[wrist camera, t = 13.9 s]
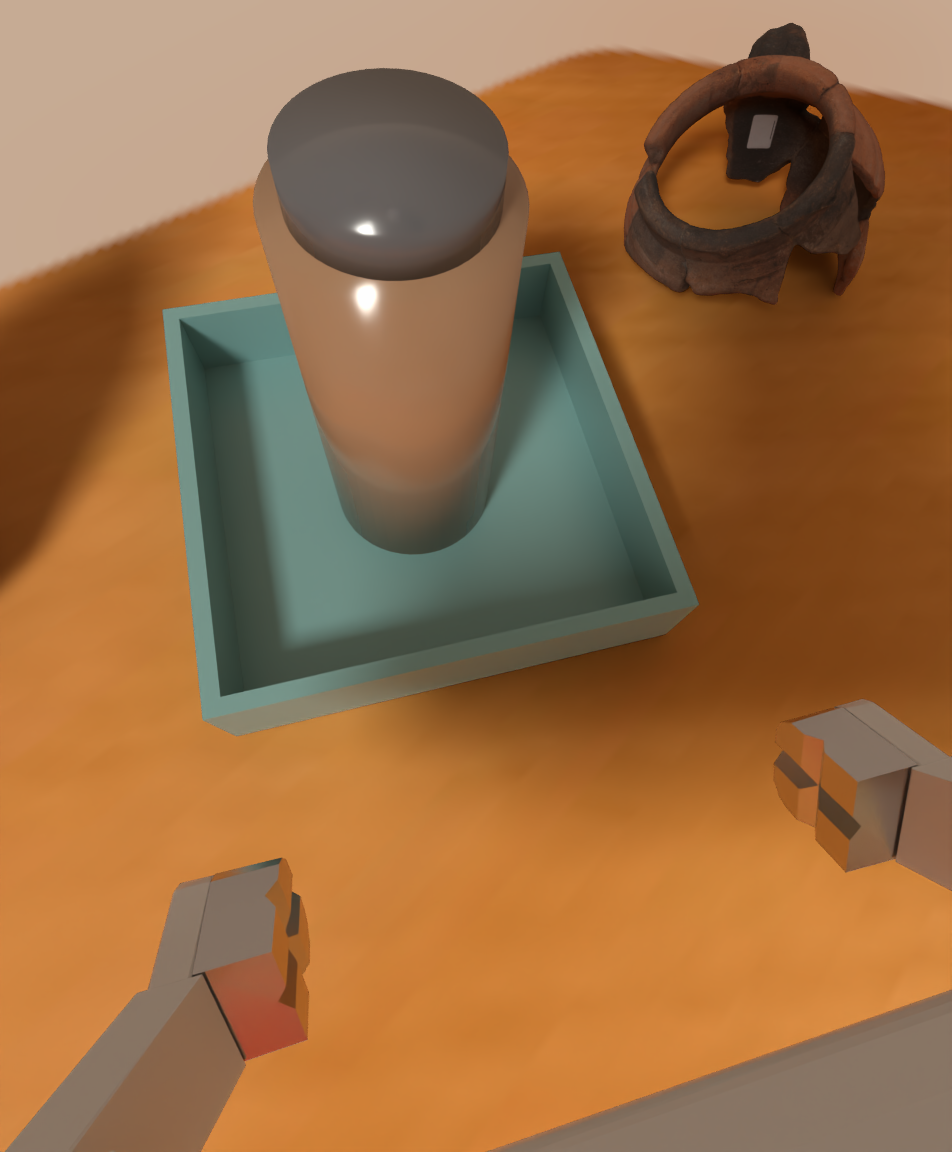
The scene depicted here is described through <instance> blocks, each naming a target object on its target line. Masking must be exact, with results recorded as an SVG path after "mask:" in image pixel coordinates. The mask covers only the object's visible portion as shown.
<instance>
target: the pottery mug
mask: <svg viewBox="0 0 952 1152" xmlns="http://www.w3.org/2000/svg"><path fill="white" fill-rule="evenodd" d="M723 105H724V107H723V108H724V113H725V115H726V122H725V123H726V129H727V131H728V134H729V139H728V149H727V154H726V157H727V160H728V165H727V171H726V174H727V176H728V177H729V178H731V179H746V180H750V181H753V182H761V181H762V180H764V179H765V178H766V177H767V176H768V175H770V174H772V173H775V172H776V171H778V170H780V169H781V168H782V167H784V166H785V165H787V164H788V163H790V162H791V167H790V171H789V174H788V177H787V182H786V185H787V190H786V192H785V195H784V197H783V200H782V202H781V205H780V212H779V213H777V214H775V215H773V216H771V217H768V218H765V219H763V220H761V221H759V222H756V223H752V224H749V225H745V226H741V227H737V228H732V229H722V230H711V229H705V228H699V227H695V226H692V225H689V224H688V223H686V222H684V221H682V220H681V219H679V218H677V217H676V216H674V215H673V214H672V213H671V212H670V211H669V210H668V209H667V208H666V206H665V205H664V203H663V201H662V199H661V197H660V195H659V190H658V184H657V178H656V175H657V172H658V170H659V168H660V166H661V164H662V163H663V161H664V159H665V157H666V155H667V154H668V152H669V150H670V149H671V147H672V146H673V145H674V144H675V142H676V141H677V140H678V138H679V137H680V136H681V135H682V134H683V133H684V132H685V131H686V130H687V129H688V128H689V127H691V126H692V125H693V124H694V123H696V122H697V121H698V120H700V119H701V118H702V117H704V116H705V115H707V114H708V113H710V112H711V111H713V110H715V109H717V108H719V107H721V106H723ZM809 105H811V106H813V107H816V108H817V109H818V110H819V111H820V112H821V114H822V115H823V116H822V119H819V117H818V116H815V115H813V114H811V113H809V112H808V111H807V110H806V108H807V107H808V106H809ZM644 147H645V151H646V153H647V155H648V158H647V160H646V162H645V164H644V166H643V168H642V170H641V172H640V176H639V179H638V181H637V182H636V184H635V186H634V189H633V191H632V194H631V196H630V198H629V201H628V204H627V209H626V214H625V222H624V246H625V248H626V251H627V252H628V253H629V255H630V256H631V257H632V259H633V260H634V261H635V262H636V263H637V264H638V265H639V266H640V267H641V268H642V269H644V271H645V272H646V273H648V274H649V275H650V276H652V277H653V278H654V279H655V280H657V281H659V282H661V283H663V284H664V285H666V286H667V287H669V288H670V289H671V290H673V291H676V292H683V291H685V290H686V289H688V288H689V286H690V287H691V289H692V291H693V292H694V293H695V294H697V295H717V294H732V293H743V294H747V295H752V296H755V297H757V298H758V299H759V300H761V301H763V302H766V303H770V304H773V305H775V304H776V303H777V301H778V292H779V290H780V287H781V283H782V280H783V278H784V273H785V269H786V265H787V263H788V259H789V256H790V254H791V252H792V249H793V247H794V246H795V245H800V246H801V247H803V248H804V249H805V250H807V251H808V252H810V253H812V254H819V253H837V254H838V274H837V279H836V283H835V286H834V290H833V292H834V294H836V295H842V294H843V293H844V291H845V289H846V287H847V286H848V285H849V284H850V282H851V281H852V279H853V278H854V277H855V275H856V273H857V271H858V270H859V267H860V265H861V263H862V261H863V258H864V254H865V246H866V241H867V234H868V228H869V217H870V215H871V211H872V210H873V209H874V208H875V207H876V202H877V201H878V200H879V199H880V197H881V196H882V194H883V192H884V185H885V171H884V165H883V160H882V154H881V149H880V146H879V143H878V140H877V138H876V135H875V133H874V132H873V130H872V128H871V127H870V125H869V124H868V122H867V121H866V120H865V118H864V117H863V115H862V114H861V113H860V111H859V110H858V109H857V108H856V107H855V106H854V105H853V103H852V100H851V98H850V96H849V94H848V92H847V90H846V88H845V87H844V86H843V85H842V84H839V81H838V78H837V77H836V75H835V74H834V73H833V72H831V71H830V70H828V69H826V68H824V67H823V66H822V65H820V64H819V63H816V62H814V61H811V60H810V49H809V44H808V42H807V38H806V33H805V31H804V30H803V28H802V27H801V26H798V25H796V24H794V23H789V24H787V25H785V26H782V27H779V28H775V29H770V30H768V31H767V32H766V33H765V34H764V35H763V36H761V37H760V38H759V39H758V40H757V41H756V42H755V43H754V45H753V46H752V49H751V52H750V54H749V57H748V59H744V60H741V61H738V62H737V63H734V64H729V65H727V66H725V67H723V68H721V69H719V70H716V71H715V72H713V73H712V74H709V75H708V76H706V77H705V78H703V79H701V80H699V81H698V82H696V83H695V84H693V85H692V86H691V87H689V88H688V89H687V90H685V91H684V92H683V93H682V94H681V95H680V96H679V97H678V98H677V99H676V100H675V101H674V102H672V103H671V104H670V105H669V106H668V108H667V109H666V110H665V111H664V112H663V113H662V114H661V115H660V116H659V118H658V119H657V121H656V123H655V124H654V126H653V127H652V129H651V130H650V132H649V134H648V136H647V138H646V141H645V143H644Z"/></svg>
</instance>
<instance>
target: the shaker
mask: <svg viewBox="0 0 952 1152" xmlns="http://www.w3.org/2000/svg"><path fill="white" fill-rule="evenodd" d="M267 152H268V160H267V161H266V162H265V164H264V166H263V167H262V169H261V171H260V173H259V175H258V178H257V181H256V185H255V188H254V196H253V209H254V217H255V220H256V224H257V228H258V231H259V234H260V238H261V241H262V244H263V248H264V251H265V254H266V258H267V261H268V264H269V268H270V271H271V275H272V278H273V281H274V285H275V288H276V291H277V295H278V298H279V301H280V305H281V308H282V311H283V315H284V318H285V321H286V325H287V328H288V331H289V335H290V338H291V341H292V345H293V348H294V351H295V355H296V358H297V361H298V365H299V368H300V371H301V375H302V378H303V381H304V385H305V388H306V391H307V395H308V398H309V401H310V405H311V408H312V411H313V415H314V418H315V421H316V425H317V428H318V431H319V435H320V438H321V441H322V445H323V448H324V451H325V455H326V458H327V461H328V465H329V468H330V471H331V475H332V478H333V481H334V485H335V488H336V491H337V495H338V498H339V501H340V505H341V508H342V511H343V513H344V515H345V517H346V519H347V520H348V522H349V524H350V525H351V526H352V527H353V529H354V530H355V531H356V532H357V533H358V534H359V535H360V536H362V537H363V538H364V539H365V540H367V541H368V542H370V543H371V544H373V545H375V546H377V547H379V548H381V549H384V550H387V551H390V552H395V553H399V554H409V555H414V554H426V553H432V552H435V551H439V550H442V549H444V548H447V547H449V546H451V545H453V544H455V543H456V542H458V541H459V540H461V539H462V538H463V537H465V536H466V535H467V534H468V533H469V532H470V531H471V530H472V529H473V528H474V527H475V525H476V524H477V523H478V521H479V519H480V518H481V516H482V514H483V512H484V509H485V507H486V503H487V498H488V492H489V485H490V478H491V472H492V465H493V458H494V451H495V444H496V437H497V430H498V424H499V417H500V410H501V403H502V396H503V389H504V382H505V375H506V369H507V362H508V355H509V348H510V341H511V334H512V327H513V321H514V314H515V307H516V300H517V293H518V286H519V279H520V273H521V266H522V259H523V252H524V245H525V238H526V231H527V225H528V218H529V198H528V191H527V188H526V184H525V181H524V179H523V177H522V174H521V172H520V170H519V168H518V167H517V165H516V164H515V163H514V161H513V160H512V158H511V157H510V156H509V155H508V154H509V151H508V142H507V138H506V135H505V131H504V129H503V127H502V125H501V123H500V121H499V120H498V118H497V117H496V116H495V114H494V113H493V111H492V110H491V109H490V108H489V107H488V106H487V105H486V104H485V103H484V102H483V101H481V100H480V99H479V98H478V97H477V96H475V95H474V94H472V93H471V92H469V91H468V90H466V89H465V88H463V87H461V86H459V85H457V84H455V83H453V82H450V81H448V80H445V79H443V78H440V77H437V76H434V75H430V74H427V73H422V72H417V71H412V70H404V69H387V68H386V69H385V68H379V69H365V70H359V71H352V72H347V73H343V74H339V75H336V76H333V77H330V78H327V79H324V80H322V81H320V82H318V83H316V84H313V85H312V86H310V87H308V88H306V89H305V90H303V91H302V92H300V93H299V94H298V95H296V96H295V97H294V98H292V99H291V100H290V101H289V102H288V103H287V104H286V105H285V106H284V107H283V109H282V110H281V111H280V113H279V114H278V115H277V117H276V119H275V120H274V122H273V124H272V127H271V129H270V133H269V136H268V145H267Z"/></svg>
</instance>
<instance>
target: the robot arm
mask: <svg viewBox="0 0 952 1152" xmlns="http://www.w3.org/2000/svg"><path fill="white" fill-rule="evenodd" d="M775 742H776V744H777V745H778V746H779V747H780V748H781V749H782V750H783V751H782V752H781V754H780V755H779V757H778V758H777V760H776V761H775V763H774V782H775V785H776V788H777V791H778V794H779V797H780V798H781V800H782V801H783V803H784V805H785V806H786V808H787V809H788V810H789V811H790V812H791V814H792V815H793V816H794V817H795V818H796V819H797V820H799V821H802V822H804V823H806V824H809V825H811V826H813V827H815V837H816V841H817V842H818V843H819V844H820V845H821V846H822V847H823V848H824V850H825V851H826V852H827V853H828V854H829V855H830V856H831V857H832V858H833V859H834V860H835V861H836V862H837V864H838V865H839V866H840V867H841V868H842V869H843V870H844V871H845V872H849V871H853V870H856V869H860V868H863V867H867V866H871V865H874V864H878V863H881V862H885V861H889V860H892V859H896V862H897V863H899V864H901V865H903V866H905V867H907V868H909V869H911V870H913V871H915V872H916V873H918V874H920V875H922V876H924V877H926V878H928V879H930V880H932V881H934V882H936V883H938V884H939V885H941V886H943V887H945V888H947V889H949V890H951V891H952V756H951V757H949V756H948V755H946V754H945V753H944V752H942V751H941V750H939V749H938V748H937V747H935V746H934V745H932V744H931V743H930V742H928V741H927V740H925V739H924V738H923V737H921V736H920V735H918V734H917V733H916V732H914V731H913V730H912V729H910V728H909V727H907V726H906V725H905V724H903V723H902V722H900V721H899V720H898V719H896V718H895V717H893V716H892V715H891V714H889V713H888V712H886V711H885V710H884V709H882V708H881V707H879V706H878V705H877V704H875V703H874V702H872V701H869V700H865V699H860V700H857V701H853V702H850V703H846V704H843V705H839V706H836V707H834V708H829V709H826V710H822V711H819V712H815V713H812V714H808V715H805V716H801V717H798V718H794V719H790V720H787V721H783V722H780V724H779V726H778V728H777V729H776V739H775ZM292 876H293V875H292V872H291V870H290V867H289V865H288V863H287V860H286V859H284V858H278V859H274V860H270V861H266V862H262V863H258V864H254V865H250V866H246V867H242V868H238V869H233V870H229V871H225V872H221V873H217V874H215V875H213V876H209V877H204V878H200V879H196V880H192V881H188V882H183V883H180V884H179V886H178V887H177V888H176V890H175V891H174V893H173V896H172V900H171V903H170V907H169V911H168V915H167V919H166V922H165V926H164V930H163V934H162V938H161V941H160V945H159V949H158V953H157V957H156V960H155V964H154V968H153V972H152V976H151V979H150V983H149V987H148V990H146V991H142V992H139V993H136V995H135V996H134V997H133V998H132V999H131V1001H130V1002H129V1003H128V1004H127V1005H126V1007H125V1008H124V1009H123V1010H122V1011H121V1013H120V1014H119V1015H118V1016H117V1017H116V1019H115V1020H114V1021H113V1022H112V1023H111V1025H110V1026H109V1027H108V1028H107V1029H106V1031H105V1032H104V1033H103V1034H102V1035H101V1037H100V1038H99V1039H98V1040H97V1041H96V1043H95V1044H94V1045H93V1046H92V1047H91V1049H90V1050H89V1051H88V1052H87V1053H86V1055H85V1056H84V1057H83V1058H82V1059H81V1061H80V1062H79V1063H78V1064H77V1065H76V1067H75V1068H74V1069H73V1070H72V1071H71V1073H70V1074H69V1075H68V1076H67V1078H66V1079H65V1080H64V1081H63V1082H62V1084H61V1085H60V1086H59V1087H58V1088H57V1090H56V1091H55V1092H54V1093H53V1094H52V1096H51V1097H50V1098H49V1099H48V1100H47V1102H46V1103H45V1104H44V1105H43V1106H42V1108H41V1109H40V1110H39V1111H38V1112H37V1114H36V1115H35V1116H34V1117H33V1118H32V1120H31V1121H30V1122H29V1123H28V1124H27V1126H26V1127H25V1128H24V1129H23V1130H22V1132H21V1133H20V1134H19V1135H18V1136H17V1138H16V1139H15V1140H14V1141H13V1142H12V1144H11V1145H10V1146H9V1147H8V1148H7V1150H6V1151H5V1152H201V1150H202V1148H203V1146H204V1144H205V1142H206V1141H207V1139H208V1137H209V1135H210V1133H211V1131H212V1129H213V1127H214V1125H215V1123H216V1121H217V1120H218V1118H219V1116H220V1114H221V1112H222V1110H223V1108H224V1106H225V1104H226V1102H227V1100H228V1098H229V1097H230V1095H231V1093H232V1091H233V1089H234V1087H235V1085H236V1083H237V1081H238V1079H239V1077H240V1075H241V1074H242V1072H243V1070H244V1068H245V1066H246V1064H245V1062H244V1061H247V1060H250V1059H253V1058H256V1057H258V1056H261V1055H264V1054H267V1053H270V1052H273V1051H276V1050H279V1049H282V1048H285V1047H288V1046H291V1045H293V1044H296V1043H299V1042H302V1041H305V1040H308V1008H309V991H308V989H307V986H306V983H305V981H304V978H303V975H302V974H303V973H304V971H305V970H306V968H307V966H308V965H309V963H310V941H309V931H308V922H307V918H306V913H305V909H304V906H303V903H302V900H301V897H300V896H299V895H297V894H295V893H294V892H292ZM487 1152H952V990H949V991H946V992H943V993H940V994H938V995H935V996H932V997H929V998H926V999H923V1000H920V1001H917V1002H915V1003H912V1004H909V1005H906V1006H903V1007H900V1008H897V1009H895V1010H892V1011H889V1012H886V1013H883V1014H880V1015H877V1016H874V1017H872V1018H869V1019H866V1020H863V1021H860V1022H857V1023H854V1024H851V1025H849V1026H846V1027H843V1028H840V1029H837V1030H834V1031H831V1032H828V1033H826V1034H823V1035H820V1036H817V1037H814V1038H811V1039H808V1040H805V1041H803V1042H800V1043H797V1044H794V1045H791V1046H788V1047H785V1048H782V1049H780V1050H777V1051H774V1052H771V1053H768V1054H765V1055H762V1056H759V1057H757V1058H754V1059H751V1060H748V1061H745V1062H742V1063H739V1064H736V1065H734V1066H731V1067H728V1068H725V1069H722V1070H719V1071H716V1072H714V1073H711V1074H708V1075H705V1076H702V1077H699V1078H696V1079H694V1080H691V1081H688V1082H685V1083H682V1084H679V1085H676V1086H674V1087H671V1088H668V1089H665V1090H662V1091H659V1092H656V1093H654V1094H651V1095H648V1096H645V1097H642V1098H639V1099H636V1100H634V1101H631V1102H628V1103H625V1104H622V1105H619V1106H616V1107H613V1108H611V1109H608V1110H605V1111H602V1112H599V1113H596V1114H593V1115H591V1116H588V1117H585V1118H582V1119H579V1120H576V1121H573V1122H571V1123H568V1124H565V1125H562V1126H559V1127H556V1128H553V1129H550V1130H548V1131H545V1132H542V1133H539V1134H536V1135H533V1136H530V1137H527V1138H525V1139H522V1140H519V1141H516V1142H513V1143H510V1144H507V1145H504V1146H502V1147H499V1148H496V1149H493V1150H490V1151H487Z"/></svg>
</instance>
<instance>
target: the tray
mask: <svg viewBox="0 0 952 1152" xmlns="http://www.w3.org/2000/svg"><path fill="white" fill-rule="evenodd" d="M163 320H164V330H165V340H166V350H167V361H168V371H169V381H170V391H171V402H172V412H173V422H174V432H175V442H176V453H177V463H178V473H179V483H180V494H181V504H182V514H183V524H184V534H185V545H186V555H187V565H188V575H189V586H190V596H191V606H192V616H193V626H194V637H195V647H196V657H197V667H198V678H199V688H200V698H201V708H202V718H203V721H205V722H208V723H210V724H212V725H214V726H216V727H218V728H220V729H222V730H224V731H226V732H229V733H231V734H233V735H235V736H240V735H244V734H248V733H253V732H257V731H261V730H265V729H269V728H274V727H278V726H282V725H286V724H290V723H295V722H299V721H303V720H307V719H312V718H316V717H320V716H324V715H328V714H333V713H337V712H341V711H345V710H349V709H354V708H358V707H362V706H366V705H370V704H375V703H379V702H383V701H387V700H391V699H396V698H400V697H404V696H408V695H412V694H417V693H421V692H425V691H429V690H433V689H438V688H442V687H446V686H450V685H455V684H459V683H463V682H467V681H471V680H476V679H480V678H484V677H488V676H492V675H497V674H501V673H505V672H509V671H513V670H518V669H522V668H526V667H530V666H534V665H539V664H543V663H547V662H551V661H555V660H560V659H564V658H568V657H572V656H577V655H581V654H585V653H589V652H593V651H598V650H602V649H606V648H610V647H614V646H619V645H623V644H627V643H631V642H635V641H640V640H644V639H648V638H652V637H656V636H661V635H665V634H667V633H668V632H669V631H670V630H671V629H672V628H673V627H675V626H676V625H677V624H678V623H679V622H680V621H681V620H682V619H684V618H685V617H686V616H687V615H688V614H689V613H690V612H691V611H693V610H694V609H695V608H696V607H697V606H698V605H699V602H698V600H697V597H696V595H695V592H694V590H693V587H692V585H691V582H690V580H689V577H688V575H687V572H686V570H685V567H684V565H683V562H682V560H681V557H680V555H679V552H678V549H677V547H676V544H675V542H674V539H673V537H672V534H671V532H670V529H669V527H668V524H667V522H666V519H665V517H664V514H663V512H662V509H661V507H660V504H659V501H658V499H657V496H656V494H655V491H654V489H653V486H652V484H651V481H650V479H649V476H648V474H647V471H646V469H645V466H644V464H643V461H642V459H641V456H640V454H639V451H638V448H637V446H636V443H635V441H634V438H633V436H632V433H631V431H630V428H629V426H628V423H627V421H626V418H625V416H624V413H623V411H622V408H621V406H620V403H619V401H618V398H617V395H616V393H615V390H614V388H613V385H612V383H611V380H610V378H609V375H608V373H607V370H606V368H605V365H604V363H603V360H602V358H601V355H600V353H599V350H598V348H597V345H596V342H595V340H594V337H593V335H592V332H591V330H590V327H589V325H588V322H587V320H586V317H585V315H584V312H583V310H582V307H581V305H580V302H579V300H578V297H577V295H576V292H575V289H574V287H573V284H572V282H571V279H570V277H569V274H568V272H567V269H566V267H565V264H564V262H563V259H562V257H561V254H560V252H553V253H546V254H539V255H533V256H526V257H523V259H522V266H521V273H520V279H519V286H518V293H517V300H516V307H515V314H514V321H513V327H512V334H511V341H510V348H509V355H508V362H507V369H506V375H505V382H504V389H503V396H502V403H501V410H500V417H499V424H498V430H497V437H496V444H495V451H494V458H493V465H492V472H491V478H490V485H489V492H488V498H487V503H486V507H485V509H484V512H483V514H482V516H481V518H480V519H479V521H478V523H477V524H476V525H475V527H474V528H473V529H472V530H471V531H470V532H469V533H468V534H467V535H466V536H465V537H463V538H462V539H461V540H459V541H458V542H456V543H455V544H453V545H451V546H449V547H447V548H444V549H442V550H439V551H435V552H432V553H426V554H414V555H409V554H399V553H395V552H390V551H387V550H384V549H381V548H379V547H377V546H375V545H373V544H371V543H370V542H368V541H367V540H365V539H364V538H363V537H362V536H360V535H359V534H358V533H357V532H356V531H355V530H354V529H353V527H352V526H351V525H350V524H349V522H348V520H347V519H346V517H345V515H344V513H343V511H342V508H341V505H340V501H339V498H338V495H337V491H336V488H335V485H334V481H333V478H332V475H331V471H330V468H329V465H328V461H327V458H326V455H325V451H324V448H323V445H322V441H321V438H320V435H319V431H318V428H317V425H316V421H315V418H314V415H313V411H312V408H311V405H310V401H309V398H308V395H307V391H306V388H305V385H304V381H303V378H302V375H301V371H300V368H299V365H298V361H297V358H296V355H295V351H294V348H293V345H292V341H291V338H290V335H289V331H288V328H287V325H286V321H285V318H284V315H283V311H282V308H281V305H280V301H279V298H278V295H277V293H273V294H266V295H259V296H252V297H245V298H239V299H232V300H225V301H218V302H211V303H204V304H198V305H191V306H184V307H177V308H170V309H163Z"/></svg>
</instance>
